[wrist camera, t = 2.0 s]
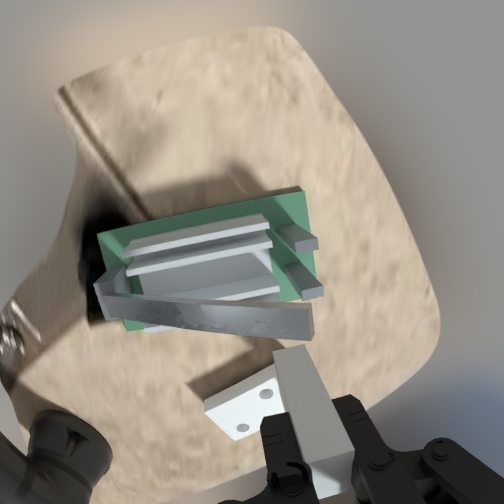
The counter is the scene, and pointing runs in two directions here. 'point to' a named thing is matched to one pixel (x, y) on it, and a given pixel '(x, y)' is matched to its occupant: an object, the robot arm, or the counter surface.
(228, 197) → the counter surface
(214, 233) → the heatsink board
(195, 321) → the strap
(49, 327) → the counter surface
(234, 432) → the bracket
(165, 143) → the counter surface
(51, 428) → the robot arm
